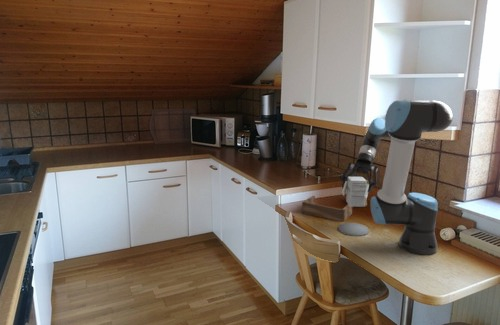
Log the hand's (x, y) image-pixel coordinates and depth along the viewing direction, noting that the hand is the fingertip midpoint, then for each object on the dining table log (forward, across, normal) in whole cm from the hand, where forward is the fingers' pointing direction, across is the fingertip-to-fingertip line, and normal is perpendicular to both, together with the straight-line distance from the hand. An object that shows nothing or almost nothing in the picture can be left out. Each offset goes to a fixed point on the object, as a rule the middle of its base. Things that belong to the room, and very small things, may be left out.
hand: (353, 196), depth 173 cm
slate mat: (+11, 0, -15) cm, 18 cm away
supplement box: (+1, 0, -6) cm, 6 cm away
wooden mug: (-15, +7, -41) cm, 45 cm away
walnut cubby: (0, +19, -25) cm, 32 cm away
